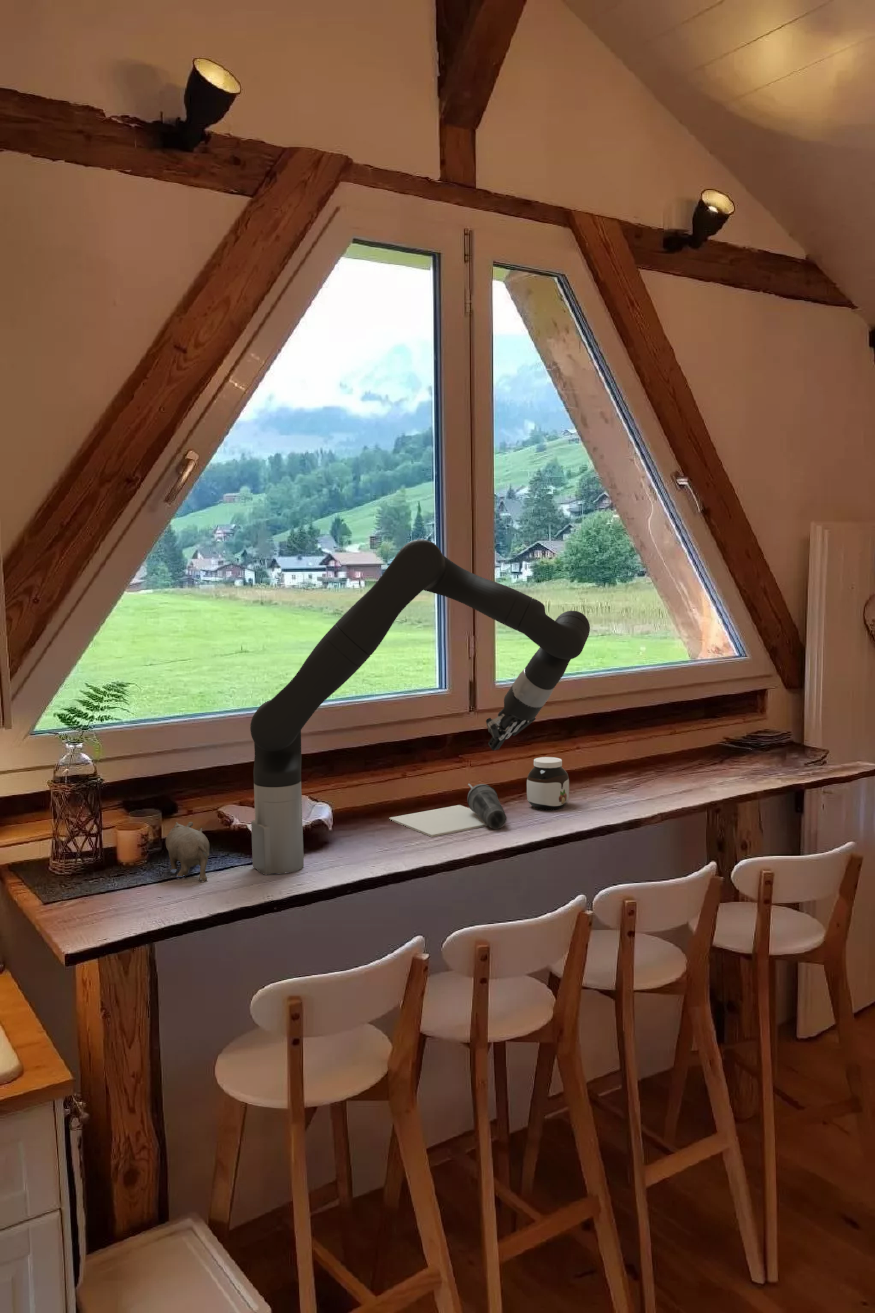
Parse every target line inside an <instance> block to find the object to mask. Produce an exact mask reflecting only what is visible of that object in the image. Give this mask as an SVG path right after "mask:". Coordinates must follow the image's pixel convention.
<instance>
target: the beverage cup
mask: <svg viewBox="0 0 875 1313" xmlns="http://www.w3.org/2000/svg"><path fill="white" fill-rule="evenodd" d="M467 786H468V787H470V789H469V790H468V793H467V804H468V808H470V809H471V810H472V811H473V812H475V813H476V814H478V815H479V817H480V818H481V819H482V820H483V821H484V822H485V823H486V824H487V825H488V826H487V827H489V828H491V829H494V830H499V829H501V828H502V827H503V826H505V824H507V823H506V822H507V815H506V812H505V810H504V808H503V805H502V804H501V802H500V800H499V798H498V793H497V791H496V789H495V788H494V787H492V786H490V785H489V784H486V783H478V784H475V785H474V786H472V784H470V783H468V784H467Z"/></svg>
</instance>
